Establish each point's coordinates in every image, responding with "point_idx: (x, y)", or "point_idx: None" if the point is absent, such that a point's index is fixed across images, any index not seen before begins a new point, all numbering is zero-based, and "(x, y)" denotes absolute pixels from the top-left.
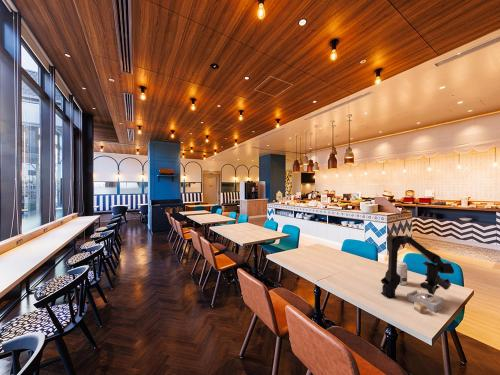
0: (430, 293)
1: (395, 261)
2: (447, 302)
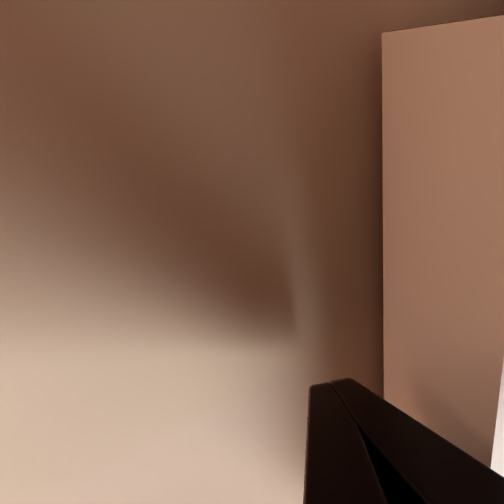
0: None
1: None
2: (59, 46)
